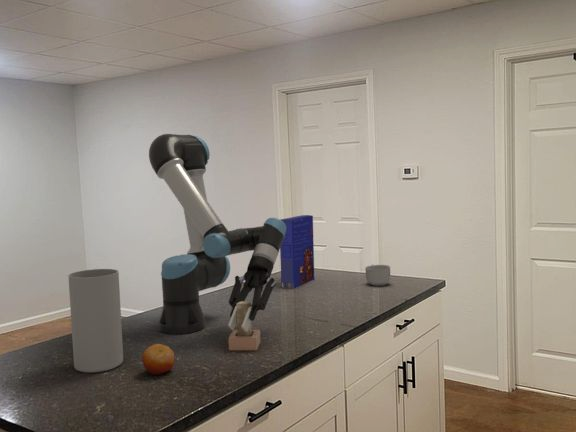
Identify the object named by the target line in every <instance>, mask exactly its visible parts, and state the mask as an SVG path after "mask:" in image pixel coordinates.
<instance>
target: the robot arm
mask: <svg viewBox="0 0 576 432" xmlns="http://www.w3.org/2000/svg"><path fill="white" fill-rule="evenodd" d="M210 156H211V155H210V150H209V146H208V145H207V143H206V142H205V140H204V139H202V138H201V137H199V136H196V135H191V134H176V133H175V134H172V133H164V134H161V135H159V136H157V137H156V138H155V139H154V140H153V141H152V142H151V144H150V146H149V149H148V157H149V158H148V159H149V160H148V161H149V163H150V165H151V167H152V169H153V171H154V172H155V175H157V177H158V178H159V179H161V180H164V182H165V183H166V184H167V186H168V188H169V189H170V191H171V192H172V194H173V195H174V196H175V198H176V200H177V201H178V202H179V204H180V205H181V207H182V209H183V214H184V219H185V225H186V231H187V236H188V240H189V241H188V242H189V246H190V247H189V249H188V251H186V253H185V254H179V255H173V256H171V257H168V258H166V259H165V260H163V262H162V263H161V272H160V276H161V289H162V306H163V307H162V310H161V313H160V317H159V321H158V330H159V331H160V332H161V333H163V334H164V333H165V334H172V335H173V334H174V335H176V334H177V335H178V334H179V335H181V334H188V333H189V334H190V333H194V332H198V331H201V330H202V329H204V328H205V327H206V317H205V315H204V312H203V310H202V307H201V304H200V292H202V291H204V290H208V289H212V288H216V287H218V286H220V285H222V284H223V283H225V282H226V281H227V280H228V278H229V275H230V273H231V262H230V259H229V258H228V256H233V255H236V254H240V253H245V252H249V251H250V252H251V251H253V252H252V253H251V257H250V260H249V263H248V265H247V269H246V271H245V273H244V274H243V275H242V276H239V275H236V276H234V285H233V287H232V291H231V293H230V297H229V299H228V304H229V306H230V307H231V311H230V313H229V314H230V315H229V317H230V320H229V321H228V324H227V326H228V327H229V328H230V330H231V331H233V330H236V329H235V328H237V327H236V326H237V306H236V304H237V303H239V302H241V301H245V300H246V299H247V297H248V295H249V293H250V292H252V290H253V289H254V290H253V296H252V302H251V307H249V308H248V311H247V313H246V316H245V319H244V321H243V324H242V328H243V330H244V331H245V332H248V329H249V326H250V323H251V324H252V322H253V321H255V318H256V316H257V312H259V311H265V309H266V307H267V304H268V302H269V299H270V296H271V295H272V292H273V290H274V288H275V287H276V286H277V282H276V279H275V278H273V277H271V275H272V273H273V270H274V267H275V263H276V262H277V261H276V260H277V257H278V256H279V254H280V247H281V244H282V242H283V239H284V238H285V233H286V225H285V224H284V222H283V221H281V220H280V219H279V218H276V217H269V218H267V219H266V220H265V221H264V223H263V225H260V226H255V227H245V228H244V227H243V228H242V227H240V228H236V229H232V230H228V229H227V227H226V226H225V224H224V223H223V222H222V220H221V219H220V218H219V217H220V216H218V215H217V213H216V211H215V210H214V209H213V207H212V205H211V204H210V203H209V202H208V197H207V192H206V186H205V180H204V178H203V177H204V174H205V173H206V170H207V169H206V165H207V164H208V162H209V160H210ZM264 286H265V287H264ZM263 288H264V289H263Z"/></svg>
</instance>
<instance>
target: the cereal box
mask: <svg viewBox="0 0 576 432" xmlns="http://www.w3.org/2000/svg"><path fill="white" fill-rule="evenodd" d="M280 220H281V221H283V222H284V224H285V225H286V233H285V238H284V239H283V242H282V244H281V247H280V250H279V257H280V258H279V259H280V286H281V287H280V288H281V289H291V290H292V289H293V290H294V289H296V288H298V287H301V286H302V285H305V284H307V283H309V282H311V281H314V280H315V257H314V256H315V253H314V251H315V248H314V247H315V246H314V216H313V215H310V214H301V215H297V216H291V217H287V218H281V219H280Z"/></svg>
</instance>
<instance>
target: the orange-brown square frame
mask: <svg viewBox="0 0 576 432" xmlns="http://www.w3.org/2000/svg"><path fill="white" fill-rule="evenodd" d="M260 344H261V329H252V336H238V331H237V329H234V330H232V332H231V333H230V335H229V336H228V351H257V350H258V348H259V346H260Z"/></svg>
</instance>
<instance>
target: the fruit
mask: <svg viewBox="0 0 576 432" xmlns="http://www.w3.org/2000/svg"><path fill="white" fill-rule="evenodd" d="M141 358H142V359H141V360H142V364H143V366H144V369H145V370H144V371H145V372H147V373H149V374H151V375H153V376H159V375H162V374H164V373H166V372H170V371H171V370H172V369H173V367H174V366H175V352H174V351H173V349H171V348H170V347H169V345H164V344H162V343H155V344H151V346H148V347H147V348H146V349H145V350H144V352H143V353H142V356H141Z"/></svg>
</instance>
